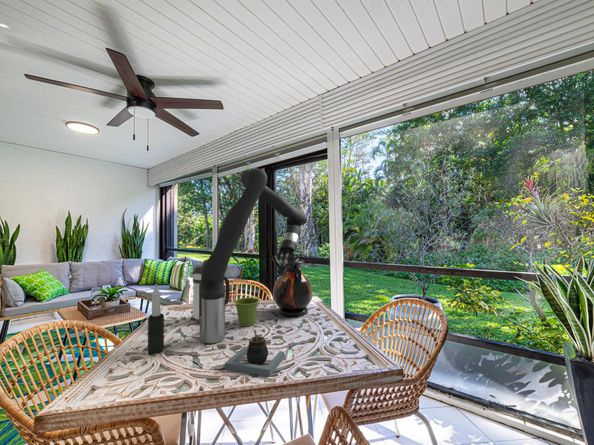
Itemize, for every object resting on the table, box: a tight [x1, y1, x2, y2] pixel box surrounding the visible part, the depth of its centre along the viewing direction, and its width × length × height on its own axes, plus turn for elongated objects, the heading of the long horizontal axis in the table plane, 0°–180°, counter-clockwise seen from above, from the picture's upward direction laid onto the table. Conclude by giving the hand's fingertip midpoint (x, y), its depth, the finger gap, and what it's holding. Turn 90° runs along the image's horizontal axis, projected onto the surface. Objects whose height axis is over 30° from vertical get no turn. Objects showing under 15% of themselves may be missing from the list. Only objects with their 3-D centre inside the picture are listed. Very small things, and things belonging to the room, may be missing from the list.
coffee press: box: [189, 259, 230, 325], centre depth 142 cm, size 17×16×30 cm
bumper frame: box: [224, 346, 286, 377], centre depth 95 cm, size 16×13×2 cm
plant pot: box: [234, 297, 260, 328], centre depth 133 cm, size 12×12×11 cm
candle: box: [147, 283, 165, 356], centre depth 105 cm, size 5×5×25 cm
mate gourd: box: [246, 329, 269, 366], centre depth 95 cm, size 7×8×10 cm
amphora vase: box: [272, 259, 313, 317], centre depth 152 cm, size 22×22×28 cm
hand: (280, 275), depth 118 cm, fingers closed
